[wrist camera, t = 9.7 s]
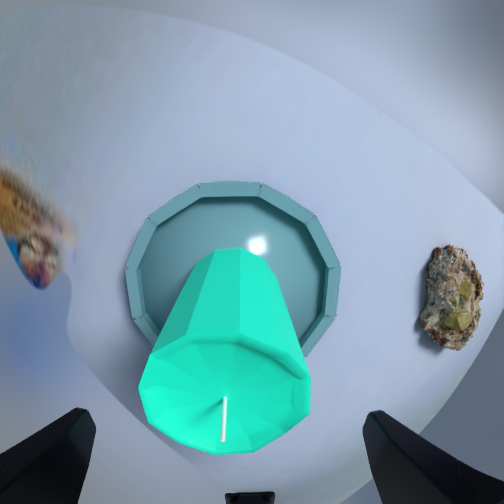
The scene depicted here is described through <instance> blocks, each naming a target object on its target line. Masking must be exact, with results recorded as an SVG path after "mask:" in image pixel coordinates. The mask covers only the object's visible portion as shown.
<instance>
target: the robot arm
mask: <svg viewBox="0 0 504 504" xmlns="http://www.w3.org/2000/svg"><path fill="white" fill-rule="evenodd" d="M95 433H96V426H95V423H94V421H93V419H92V417H91V415H90V413H89V411H87V410H86V409H83V408H78V407H77V408H75V409H73V410H71V411H70V412H68V413H67V414H65V415H64V416H62V417H60V418H59V419H57V420H55V421H54V422H52V423H51V424H49V425H47V426H46V427H44V428H43V429H41V430H39V431H38V432H36V433H35V434H33V435H31V436H30V437H28V438H26V439H25V440H23V441H21V442H20V443H18V444H16V445H15V446H13V447H11V448H10V449H8V450H6V452H3V453H1V454H0V504H78V500H79V497H80V493H81V490H82V486H83V482H84V480H85V477H86V473H87V470H88V466H89V462H90V458H91V452H92V447H93V443H94V438H95ZM363 437H364V442H365V446H366V451H367V455H368V460H369V464H370V468H371V472H372V475H373V478H374V480H375V483H376V486H377V489H378V492H379V495H380V498H381V500H382V503H383V504H504V481H502V480H499V479H497V478H494V477H492V476H489V475H487V474H484V473H482V472H480V471H478V470H476V469H474V468H472V467H470V466H468V465H467V464H465V463H463V462H462V461H460V460H457V459H456V458H455V457H453V456H451V455H450V454H448V453H446V452H445V451H443V450H442V449H440V448H438V447H437V446H435V445H434V444H432V443H431V442H429V441H427V440H426V439H424V438H422V437H421V436H420V435H418V434H417V433H415V432H413V431H412V430H410V429H409V428H407V427H406V426H404V425H403V424H401V423H400V422H398V421H397V420H395V419H394V418H392V417H391V416H389V415H388V414H387V413H385V412H384V411H382V410H377V411H372V412H370V413H369V414H368V415H367V418H366V421H365V424H364V426H363ZM225 499H226V504H274V499H275V493H274V492H266V493H226V494H225Z"/></svg>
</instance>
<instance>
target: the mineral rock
mask: <svg viewBox="0 0 504 504" xmlns="http://www.w3.org/2000/svg"><path fill="white" fill-rule="evenodd" d="M467 256H468V255H467V254H466V251H464V250H463V249H460V248H458V249H457V248H456V247H455V246H454V245H451V244H449V245H448V246H447V247H446V249H441V248H439V247H437V248H436V249H435V250H434V258H433V260H432V262H431V263H429V264H428V268H427V272H426V291H427V303H426V306H425V309H424V310H423V311H422V313H421V314H420V318H421V320H420V324H421V325H422V328H424V329H423V330H426V331H427V332H428V333H427V334H428V336H429V337H430V339H431V340H432V341H433V342H435V343H436V344H438V345H440V346H444V347H445V348H449V349H452V350H456V351H459V350H461V349H462V348H463V347H464V346H466V344H467V341H468V340H470V339H471V338H472V337H473V336H472V334H473V332H474V331H475V329H476V328H477V326H478V321H479V318H480V316H481V315H480V314H481V309H480V308H479V301H480V300H482V299H483V293H482V288H483V286H484V282H483V281H482V279H481V275H480V274H479V273H478V270H476V269H475V264H474V263H473V261H472V260H470V259H469V258H468V257H467Z"/></svg>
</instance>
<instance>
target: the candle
mask: <svg viewBox="0 0 504 504" xmlns="http://www.w3.org/2000/svg"><path fill="white" fill-rule="evenodd" d="M310 385H311V377H310V374H309V371H308V368H307V365H306V362H305V359H304V356H303V353H302V350H301V347H300V344H299V342H298V339H297V336H296V333H295V330H294V327H293V324H292V321H291V318H290V315H289V312H288V310H287V307H286V304H285V301H284V298H283V295H282V292H281V289H280V287H279V284H278V281H277V278H276V276H275V275H274V273H273V272H272V270H271V269H270V268H269V266H268V265H267V263H266V262H265V260H264V259H263V258H262V257H260V256H257V255H255V254H253V253H251V252H249V251H247V250H244V249H242V248H231V249H218V250H215V251H213V252H212V253H210V254H209V255H207V256H206V257H204V258H203V259H201V260H200V261H199V262H197V263H196V264H195V266H194V268H193V270H192V272H191V274H190V276H189V278H188V280H187V281H186V283H185V285H184V287H183V289H182V291H181V293H180V295H179V297H178V299H177V301H176V303H175V305H174V307H173V309H172V311H171V313H170V315H169V317H168V319H167V321H166V323H165V325H164V327H163V329H162V331H161V333H160V335H159V337H158V339H157V341H156V343H155V345H154V347H153V349H152V351H151V353H150V356H149V359H148V361H147V364H146V367H145V369H144V372H143V375H142V378H141V381H140V383H139V386H138V390H139V394H140V397H141V401H142V404H143V407H144V411H145V414H146V417H147V420H148V423H149V424H151V425H152V426H154V427H155V428H157V429H158V430H159V431H161V432H162V433H164V434H165V435H167V436H168V437H170V438H172V439H173V440H175V441H176V442H178V443H181V444H183V445H186V446H189V447H192V448H195V449H198V450H201V451H204V452H207V453H210V454H213V455H225V454H240V453H251V452H255V451H257V450H259V449H260V448H262V447H264V446H265V445H267V444H269V443H270V442H272V441H274V440H275V439H277V438H278V437H280V436H282V435H283V434H285V433H286V432H288V431H289V430H290V429H291V428H293V427H294V426H295V425H296V424H298V423H299V422H300V421H301V420H303V419H304V418H305V417H306V416H307V415H309V414H310Z"/></svg>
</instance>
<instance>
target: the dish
mask: <svg viewBox="0 0 504 504" xmlns="http://www.w3.org/2000/svg"><path fill="white" fill-rule="evenodd" d="M231 248H242V249H244V250H247V251H249V252H251V253H253V254H255V255H257V256H260V257H262V258H263V259H264V260H265V262H266V263H267V265H268V266H269V268H270V269H271V270H272V272H273V273H274V275H275V276H276V278H277V281H278V284H279V287H280V289H281V292H282V295H283V298H284V301H285V304H286V307H287V310H288V312H289V315H290V318H291V321H292V324H293V327H294V330H295V333H296V336H297V339H298V342H299V344H300V347H301V350H302V353H303V356H304V357H307V356H308V354H309V353H310V352H311V351H312V349H313V348H314V347H315V345H316V344H317V343H318V341H319V340H320V339H321V337H322V336H323V335H324V333H325V332H326V330H327V329H328V328H329V326H330V325H331V323H332V322H333V321H334V317H336V310H337V301H338V292H339V282H340V272H341V267H340V266H339V265H340V262H339V260H338V258H337V256H336V254H335V252H334V250H333V248H332V246H331V244H330V242H329V240H328V238H327V236H326V234H325V232H324V230H323V228H322V226H321V224H320V222H319V220H318V218H317V216H315V215H314V213H312V212H311V211H309V210H307V209H306V208H304V207H303V206H301V205H300V204H298V203H297V202H296V201H294V200H293V199H291V198H290V197H288V196H286V195H284V194H283V193H281V192H279V191H277V190H275V189H272V188H271V187H269V186H267V185H266V184H264V183H262V185H260V182H242V181H223V182H214V183H199V184H196V185H195V186H193V187H191V188H190V189H188V190H187V191H185V192H184V193H182V194H180V195H178V196H176V197H175V198H173V199H172V200H170V201H169V202H168V203H166V204H165V205H164V206H162V207H161V208H159V209H158V210H156V211H155V212H153V213H152V214H150V215H149V216H148V218H146V220H145V222H144V224H143V226H142V228H141V231H140V233H139V235H138V237H137V240H136V242H135V244H134V247H133V249H132V251H131V254H130V256H129V258H128V261H127V263H126V266H125V267H127V268H126V269H125V275H126V282H127V289H128V296H129V302H130V308H131V314H132V318H135V319H134V320H133V321H134V322H135V323H136V325H137V326H138V327H139V329H140V330H141V331H142V333H143V334H144V335H145V336H146V338H147V339H148V340H149V342H150V343H151V344H152V345H153V347H154V345H155V343H156V341H157V339H158V337H159V335H160V333H161V331H162V329H163V327H164V325H165V323H166V321H167V319H168V317H169V315H170V313H171V311H172V309H173V307H174V305H175V303H176V301H177V299H178V297H179V295H180V293H181V291H182V289H183V287H184V285H185V283H186V281H187V280H188V278H189V276H190V274H191V272H192V270H193V268H194V266H195V264H196V263H197V262H199V261H200V260H201V259H203V258H204V257H206V256H207V255H209V254H210V253H212V252H213V251H215V250H218V249H231Z"/></svg>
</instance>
